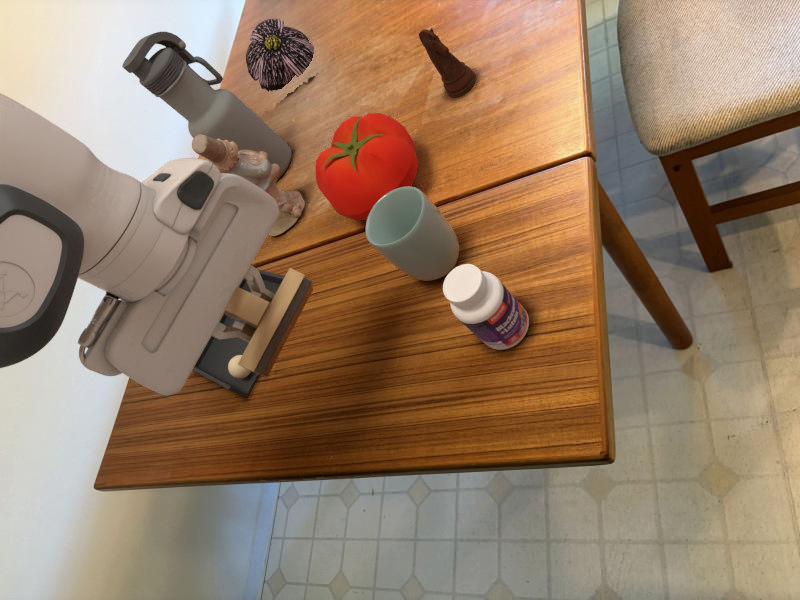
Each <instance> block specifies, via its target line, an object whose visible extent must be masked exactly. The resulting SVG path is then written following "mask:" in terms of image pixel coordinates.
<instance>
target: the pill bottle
mask: <svg viewBox="0 0 800 600" xmlns="http://www.w3.org/2000/svg"><path fill="white" fill-rule="evenodd" d="M442 292H443V295H444V297H445V298H446V299H447V300H448V301H449V304H450V305H449V306H450V309H451V312H452V314H453V315H454V316H455V318H456V319H457V320H458V321H459V322H461V324H463V325H464V326H465V327H466V328H467V329H468V330H469V331H471V332H472V333H473V334H474V335H475V336H476V337H477V338H478V339H479V340H480V341H481V342H482V343H484V344H485V345H486V346H487V347H489V348H491V349H493V350H496V351H497V350H498V351H502V350H503V351H504V350H508V349H511V348H513V347H516V346H517V345H518V344H519V343H521V341H522V340H523V339H524V338H525V336H526V334H527V333H528V330H529V325H530V317H529V314H528V312H527V310H526V309H525V307H524V306H523V305H522V304H521V303H520V302H519V301H518V299H517V298H516V297H515V296H514V295H513V294H512V292H510V291H509V289H508V288H507V287H506V285H505V284H504V283H503V282H502V281H501V279H499V278H498V277H497V276H496V274H493V273H492V272H489V271H486V270H481V269H480V268H479V267H478V266H477V265H475V264H471V263H463V264H460V265H458V266H455V267H454V268H453V269H452V270H451V271H450V272H449V273H448V274H447V275H446V277H445V278H444V280H443V283H442Z"/></svg>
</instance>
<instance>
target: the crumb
mask: <svg viewBox="0 0 800 600" xmlns="http://www.w3.org/2000/svg"><path fill="white" fill-rule="evenodd" d="M241 357H242V355H237V356H235V357H233V358H232V359H231V360H230V362H229V364H228V370H229V373H230V374H231V375H232V376H233V377H235V378H239V379H240V378H245V377H247V376H248V375H249V374H250V373H251V371H250V370H248V369H245V368H243V367H242V366H240V365H238V362H239V360H240V359H241Z"/></svg>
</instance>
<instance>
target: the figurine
mask: <svg viewBox="0 0 800 600" xmlns="http://www.w3.org/2000/svg"><path fill="white" fill-rule="evenodd" d="M192 138H193V137H192ZM191 149H192V150H193V152H195V154H197V155H199V156H200V157H203V158H204V159H206V160H207V161H210V162H211V163H212V164H214V165H215V166H216V167H217V168H218V169H219V171H220V173H227V174H235V175H238V176H241V177H243V178H245V179H246V180H248V181H250V182H251V183H253V184H255V185H256V186H258V187H259V188H261V189H262V190H264V191H265V192H267V193H268V194H269V195H270V196H272V197H273V198H274V199H275V200H276V201H277V204H278V208H279V212H280V213H279V216H278V218H277V220H276V222H275V223H274V225H273V227H272V229H271V230H270V232H269V234H268V236H269V237H276V236H279V235H282V234H284V232H286V231H287V230H289V229H290V228H291V227H292V226H294V224H296V222H297V221H298V219H299V218H300V217H301V216H302V213H303V211H304V209H305V205H306V201H305V200H304V198H303V196H302V193H301V192H299V191H298V190H291V191H289V190H283V189H280V188H278V187H277V186H276V184H277V182H278V180H277V177H278V176H279V174H280V167H279V166H278V165H277V164H270V162H269V161H268V154H267V153H266V152H263V151H260V152H256V151H252V150H240V151H238V146H237V145H236V144H235V143H234V142H229V141H227V140H224V141H223V140H220V138H218V139H213V138H211V137H208V136H206V135H201V134H200V135H197V136H195V137H194V138H193V139H192V140H191Z"/></svg>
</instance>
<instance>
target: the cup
mask: <svg viewBox="0 0 800 600" xmlns="http://www.w3.org/2000/svg"><path fill="white" fill-rule="evenodd" d="M365 237H366V240H367V242H368V243H369V244H370V245H371V247H372V248H373V249H375V250H376V251H377V253H379V254H380V255H381V256H382V257H384V258H385V259H386V260H387V261H388V262H390V263H391V265H393V266H394V267H396V268H397V269H398V270H400V271H401V272H403V273H404V274H405V275H407V276H409V277H410V278H413V279H416V280H418V281H426V282H430V281H436V280H439V279H442V278H444V277H445V276H447V275H448V274H449V273H450V272H451V271H452V270H453V269H454V268H455V267H456V265H457V262H458V260H459V256H460V243H459V239H458V236H457V233H456V231H455V229H454V228H453V226H452V225H451V223H450V222H449V221H448V219H447V218H446V217H445V215H444V214H443V213H442V212H441V211H440V209H439V208H438V206H436V205H435V204H434V202H433V201H432V200H431V199H430V198H429V197H428V196H427V194H426V193H425V192H423V191H422V190H421V189H420V188H418V187H416V186H408V187H401V188H397V189H395V190H392V191H390V192H389V193H387V194H385V195H384V196H383V197H381V198H380V199H379V200H378V201H377V203H376V204H375V205H374V206H373V208H372V210H371V211H370V214H369V216H368V219H366V223H365Z"/></svg>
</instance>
